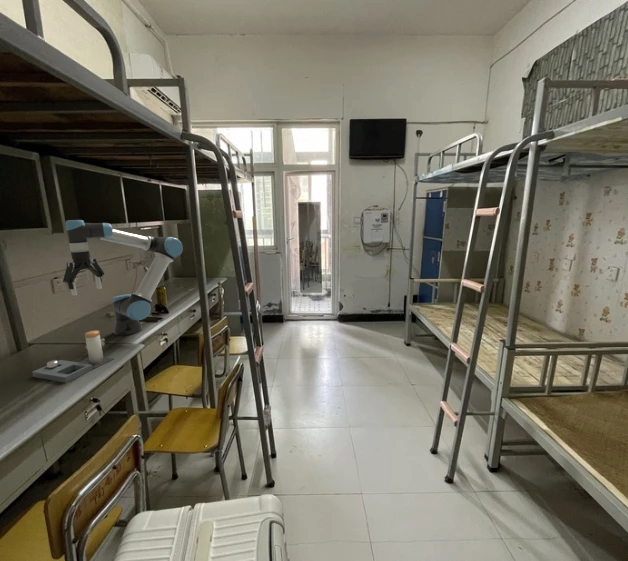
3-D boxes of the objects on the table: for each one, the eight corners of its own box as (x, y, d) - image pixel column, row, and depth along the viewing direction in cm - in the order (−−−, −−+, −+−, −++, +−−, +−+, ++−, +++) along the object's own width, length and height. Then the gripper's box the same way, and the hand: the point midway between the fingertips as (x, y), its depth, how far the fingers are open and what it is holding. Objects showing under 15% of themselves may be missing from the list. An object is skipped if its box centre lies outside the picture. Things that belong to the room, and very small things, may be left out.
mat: (98, 357, 158) (98, 356, 158) (113, 359, 155) (113, 358, 155) (78, 366, 148) (78, 365, 148) (94, 368, 146) (94, 367, 146)
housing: (61, 364, 150) (60, 359, 150) (92, 369, 145) (91, 364, 144) (33, 376, 139) (32, 371, 139) (66, 382, 133) (65, 377, 133)
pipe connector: (96, 357, 157) (93, 338, 155) (80, 355, 159) (76, 337, 157) (112, 349, 167) (109, 331, 165) (97, 347, 169) (94, 330, 167)
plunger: (55, 366, 146) (53, 359, 145) (61, 367, 145) (59, 360, 144) (45, 370, 142) (44, 363, 141) (52, 371, 141) (50, 364, 140)
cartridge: (97, 358, 155) (93, 329, 152) (106, 359, 154) (101, 331, 150) (86, 363, 150) (81, 334, 147) (95, 365, 148) (90, 335, 145)
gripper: (96, 248, 170) (103, 286, 174) (48, 254, 146) (57, 297, 151) (107, 248, 168) (114, 286, 173) (60, 254, 144) (68, 298, 149)
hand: (87, 291), depth 162 cm, fingers open, 13 cm apart
